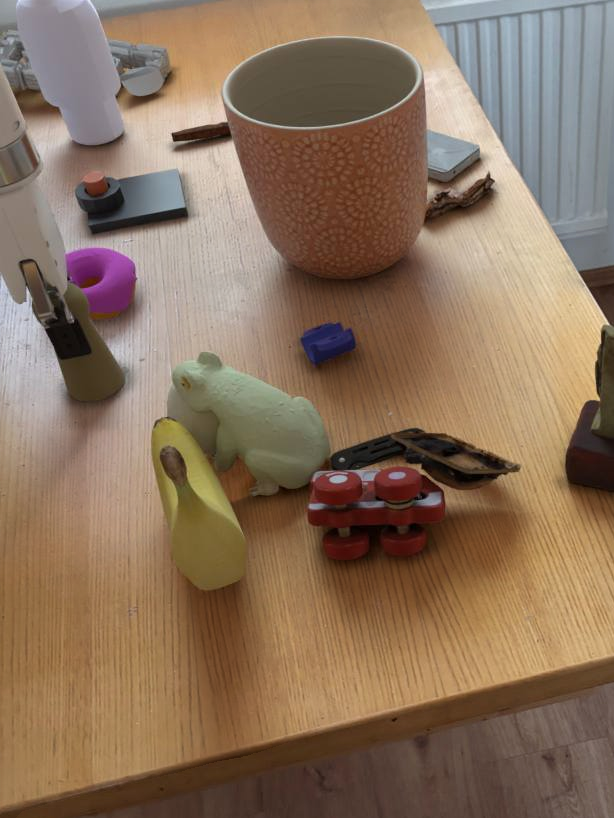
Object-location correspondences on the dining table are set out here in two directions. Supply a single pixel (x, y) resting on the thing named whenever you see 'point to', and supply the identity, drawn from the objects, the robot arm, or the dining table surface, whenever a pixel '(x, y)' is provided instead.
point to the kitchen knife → (201, 132)
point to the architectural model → (143, 58)
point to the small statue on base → (596, 426)
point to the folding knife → (368, 452)
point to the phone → (449, 156)
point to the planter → (333, 150)
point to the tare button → (95, 183)
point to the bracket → (327, 342)
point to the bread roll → (452, 459)
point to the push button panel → (134, 201)
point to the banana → (196, 509)
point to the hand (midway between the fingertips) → (74, 336)
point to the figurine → (248, 423)
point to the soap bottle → (73, 66)
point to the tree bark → (458, 197)
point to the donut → (103, 279)
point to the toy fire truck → (374, 509)
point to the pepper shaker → (93, 371)
